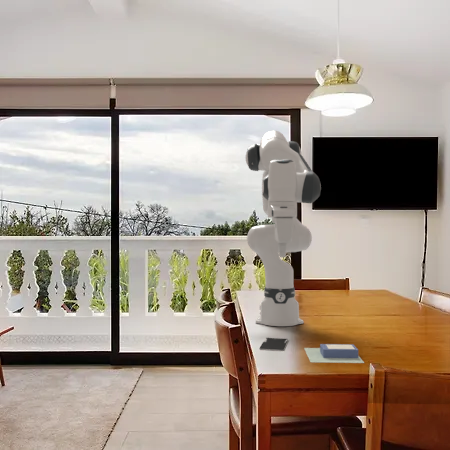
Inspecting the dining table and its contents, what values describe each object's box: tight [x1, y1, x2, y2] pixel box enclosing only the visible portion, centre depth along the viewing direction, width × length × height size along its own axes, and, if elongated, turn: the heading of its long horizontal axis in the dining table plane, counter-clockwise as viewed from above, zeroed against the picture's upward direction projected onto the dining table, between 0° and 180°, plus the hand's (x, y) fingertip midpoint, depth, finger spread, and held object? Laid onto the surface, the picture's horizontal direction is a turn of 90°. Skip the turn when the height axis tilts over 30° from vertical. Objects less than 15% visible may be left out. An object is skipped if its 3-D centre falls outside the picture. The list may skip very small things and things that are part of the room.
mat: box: [303, 347, 365, 364], centre depth 146 cm, size 16×15×1 cm
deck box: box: [319, 343, 359, 358], centre depth 146 cm, size 6×2×10 cm
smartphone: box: [259, 337, 289, 352], centre depth 158 cm, size 8×1×15 cm
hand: (282, 257), depth 150 cm, fingers closed
